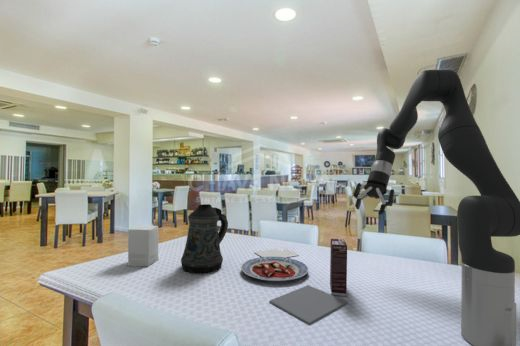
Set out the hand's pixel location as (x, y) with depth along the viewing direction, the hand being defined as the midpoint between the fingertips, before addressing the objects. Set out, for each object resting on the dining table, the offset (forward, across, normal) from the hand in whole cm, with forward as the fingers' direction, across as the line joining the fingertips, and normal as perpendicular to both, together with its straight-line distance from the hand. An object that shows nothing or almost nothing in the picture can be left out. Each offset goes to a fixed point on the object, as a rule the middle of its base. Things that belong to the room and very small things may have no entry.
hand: (368, 211), depth 102 cm
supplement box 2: (+53, -72, -28) cm, 94 cm away
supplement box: (+31, +1, -9) cm, 32 cm away
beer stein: (+44, -50, -17) cm, 69 cm away
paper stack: (+27, -40, +16) cm, 50 cm away
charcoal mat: (+37, -3, -22) cm, 43 cm away
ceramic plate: (+35, -24, -7) cm, 43 cm away
